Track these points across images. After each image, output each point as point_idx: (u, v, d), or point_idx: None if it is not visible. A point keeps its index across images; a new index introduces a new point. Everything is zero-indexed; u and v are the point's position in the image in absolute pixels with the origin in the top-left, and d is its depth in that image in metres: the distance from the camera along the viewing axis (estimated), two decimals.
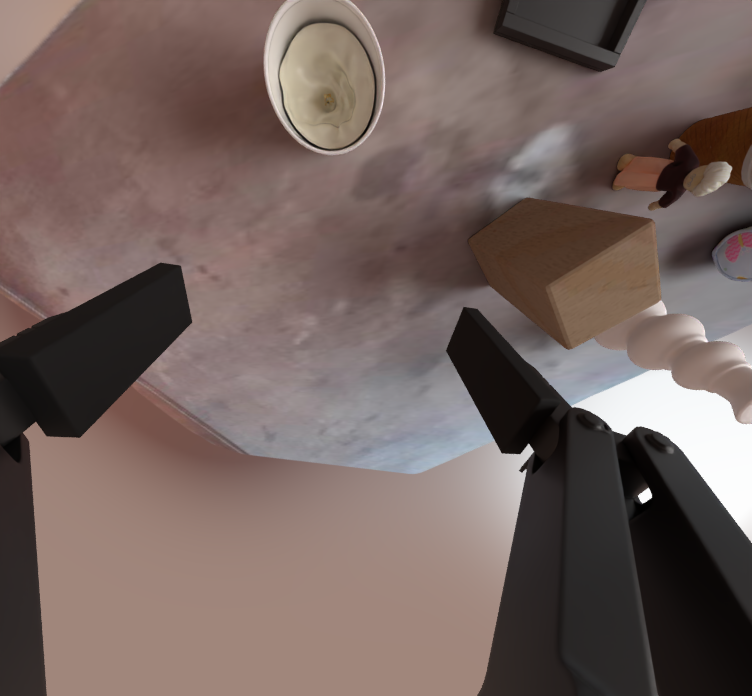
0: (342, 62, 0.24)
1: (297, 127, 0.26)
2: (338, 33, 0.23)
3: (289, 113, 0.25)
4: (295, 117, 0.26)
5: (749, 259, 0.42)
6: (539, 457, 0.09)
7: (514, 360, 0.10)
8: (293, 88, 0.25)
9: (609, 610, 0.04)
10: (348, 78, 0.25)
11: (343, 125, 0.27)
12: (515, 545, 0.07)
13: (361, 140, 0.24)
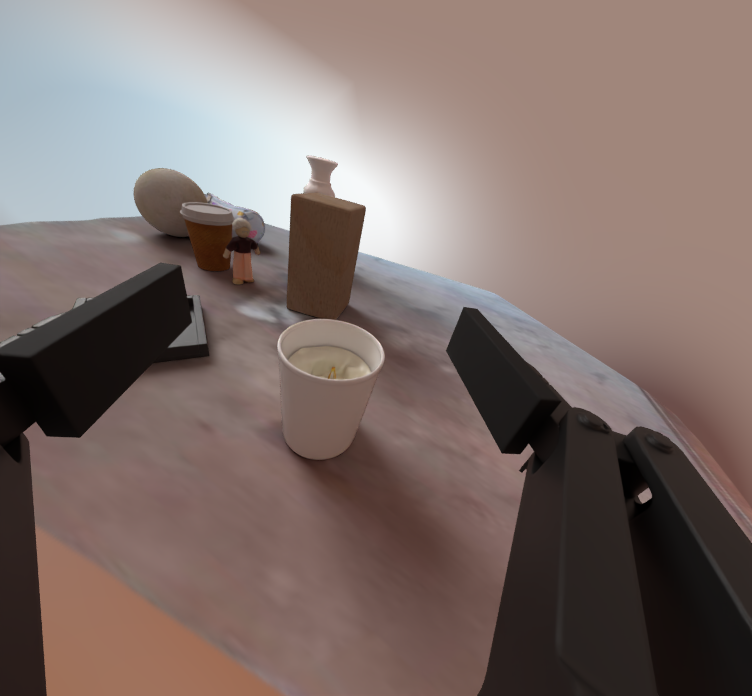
0: None
1: None
2: None
3: None
4: None
5: (254, 224, 0.74)
6: (539, 457, 0.09)
7: (514, 360, 0.10)
8: None
9: (609, 610, 0.04)
10: (308, 372, 0.28)
11: (340, 363, 0.29)
12: (515, 545, 0.07)
13: (348, 323, 0.29)
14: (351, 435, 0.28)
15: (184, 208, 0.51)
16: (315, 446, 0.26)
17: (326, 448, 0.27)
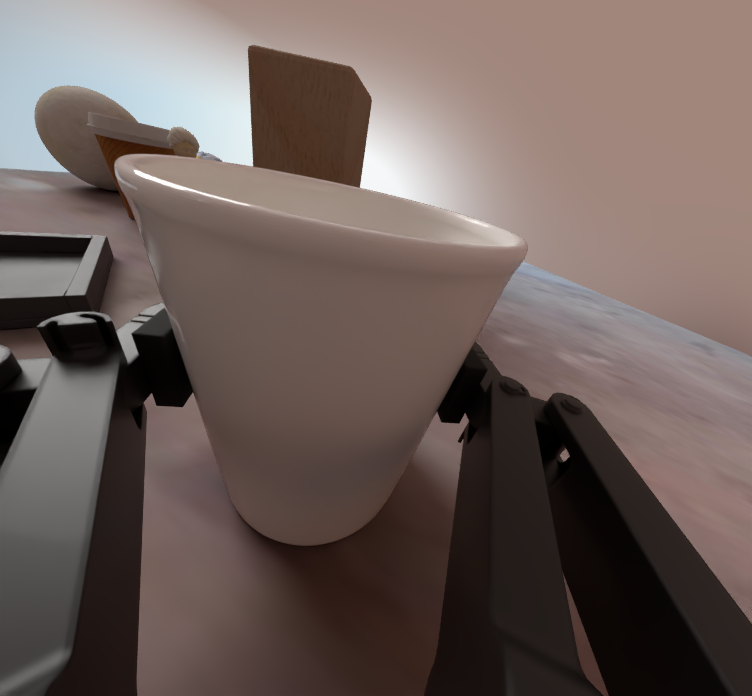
0: None
1: None
2: None
3: None
4: None
5: None
6: (472, 426, 0.09)
7: None
8: None
9: (531, 561, 0.05)
10: None
11: None
12: (456, 515, 0.07)
13: (375, 192, 0.12)
14: (401, 475, 0.11)
15: (90, 115, 0.33)
16: (306, 521, 0.09)
17: (338, 521, 0.09)
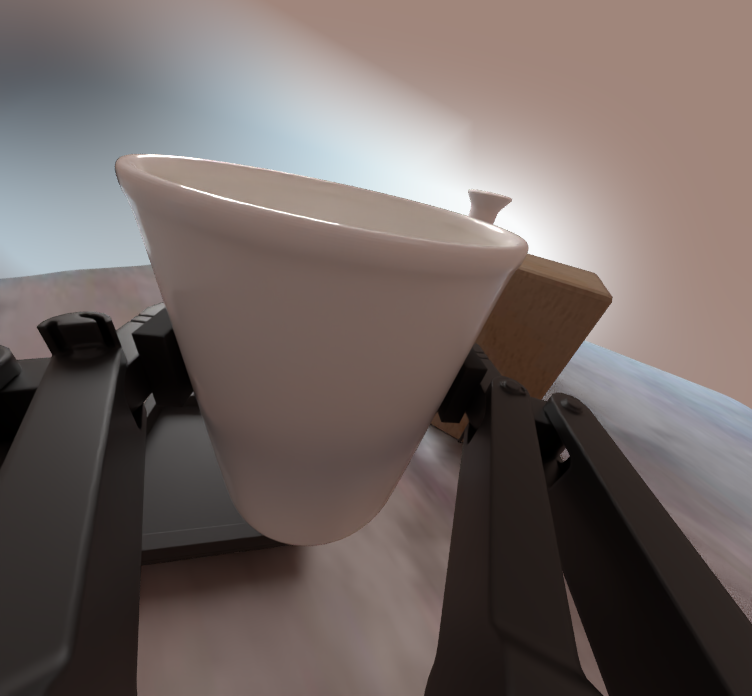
0: None
1: None
2: None
3: None
4: None
5: None
6: (472, 426, 0.09)
7: None
8: None
9: (531, 561, 0.05)
10: None
11: None
12: (456, 515, 0.07)
13: (375, 192, 0.12)
14: (401, 475, 0.11)
15: None
16: (306, 521, 0.09)
17: (338, 521, 0.09)
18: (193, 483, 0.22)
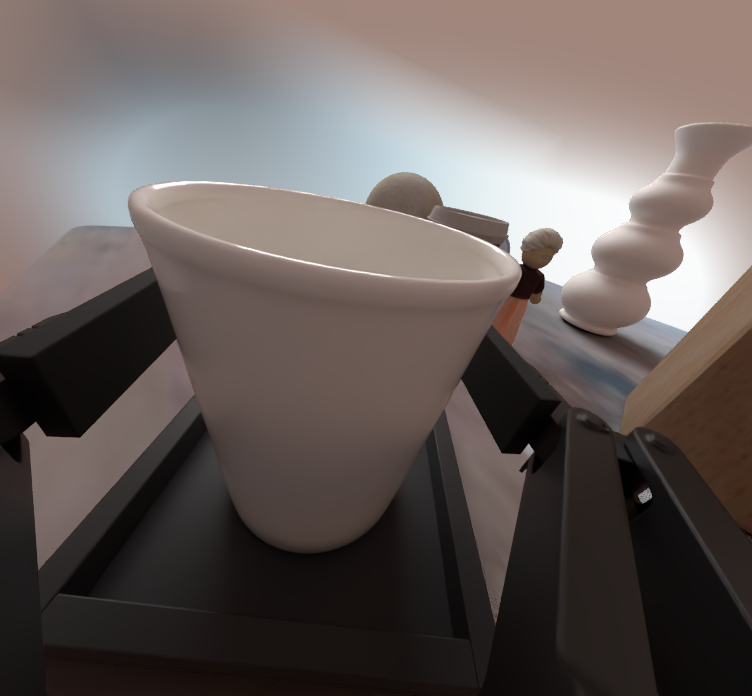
0: None
1: None
2: None
3: None
4: None
5: None
6: (539, 457, 0.09)
7: (514, 360, 0.10)
8: None
9: (609, 610, 0.04)
10: None
11: None
12: (515, 545, 0.07)
13: (375, 207, 0.12)
14: (401, 484, 0.11)
15: (439, 210, 0.29)
16: (308, 531, 0.09)
17: (340, 530, 0.10)
18: None
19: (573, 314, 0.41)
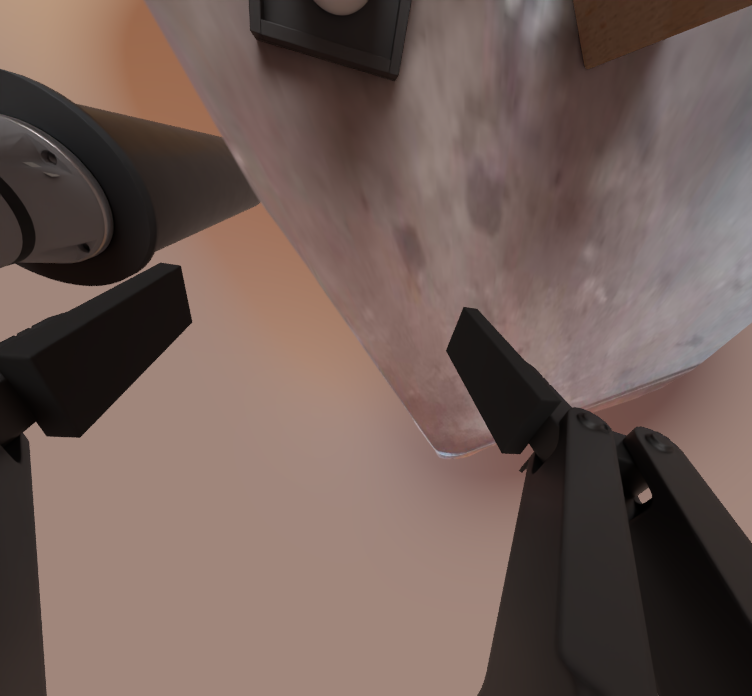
0: None
1: None
2: None
3: None
4: None
5: None
6: (539, 457, 0.09)
7: (514, 360, 0.10)
8: None
9: (608, 610, 0.04)
10: None
11: None
12: (515, 545, 0.07)
13: None
14: None
15: None
16: (335, 5, 0.24)
17: (348, 7, 0.24)
18: None
19: None
